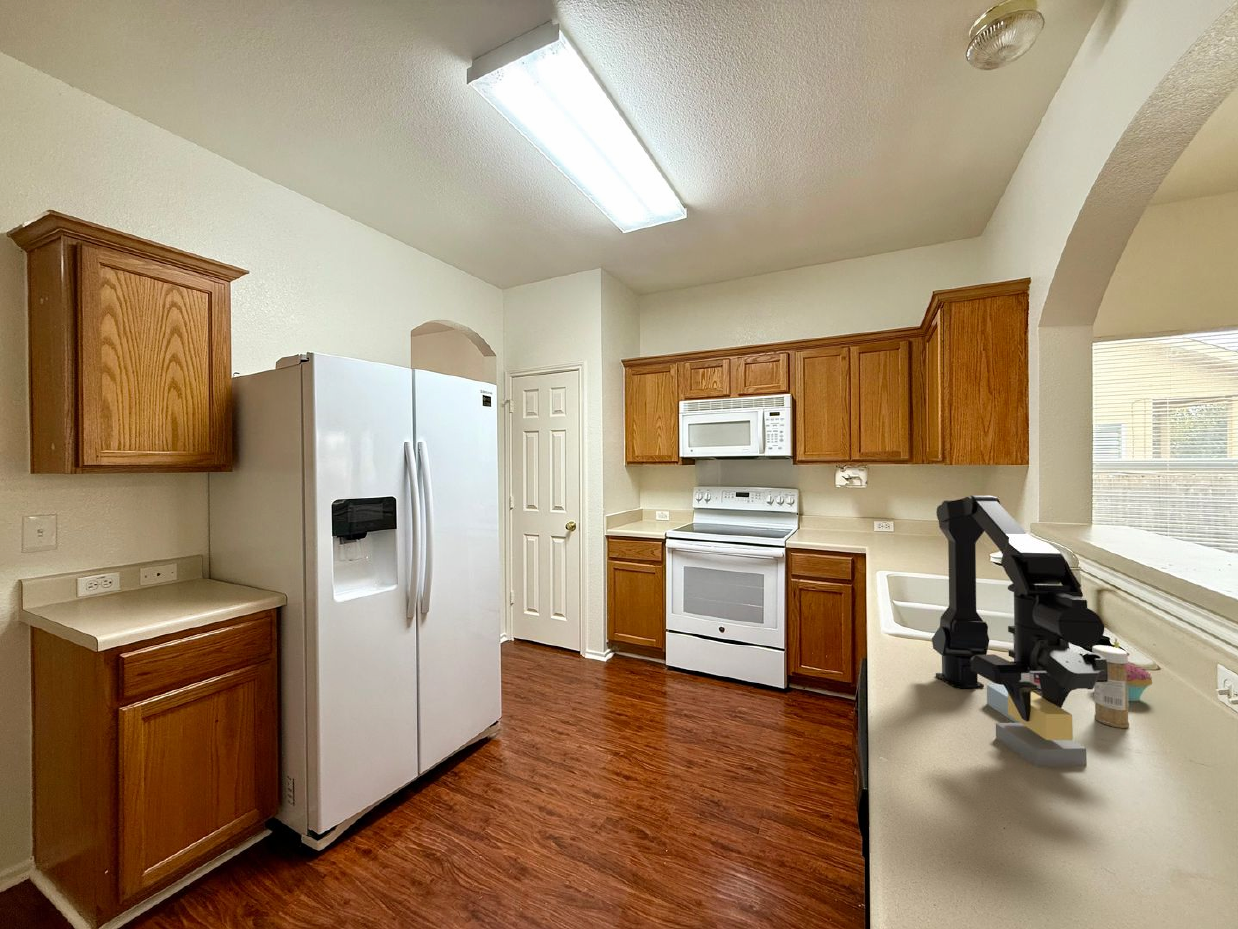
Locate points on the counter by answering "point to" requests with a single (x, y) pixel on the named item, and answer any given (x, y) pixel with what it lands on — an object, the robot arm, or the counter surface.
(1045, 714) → the ochre brick
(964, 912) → the counter surface
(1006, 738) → the base slab
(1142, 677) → the cupcake
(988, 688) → the blue brick
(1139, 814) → the counter surface
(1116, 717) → the sprinkles bottle
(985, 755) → the counter surface
